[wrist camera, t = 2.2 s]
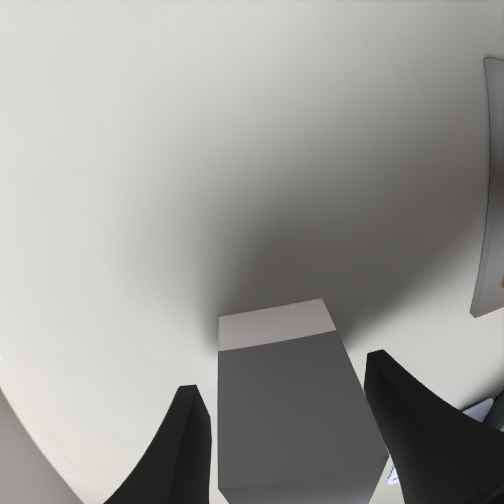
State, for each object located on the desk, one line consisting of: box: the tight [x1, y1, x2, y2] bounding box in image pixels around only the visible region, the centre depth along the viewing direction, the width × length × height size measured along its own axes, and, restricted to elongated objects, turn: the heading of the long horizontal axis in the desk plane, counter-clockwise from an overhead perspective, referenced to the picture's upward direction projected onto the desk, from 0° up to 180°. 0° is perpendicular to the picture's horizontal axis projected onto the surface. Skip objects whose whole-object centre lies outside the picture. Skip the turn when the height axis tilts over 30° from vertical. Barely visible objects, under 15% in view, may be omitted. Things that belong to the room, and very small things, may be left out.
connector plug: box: [218, 298, 389, 504], centre depth 10 cm, size 4×4×7 cm
